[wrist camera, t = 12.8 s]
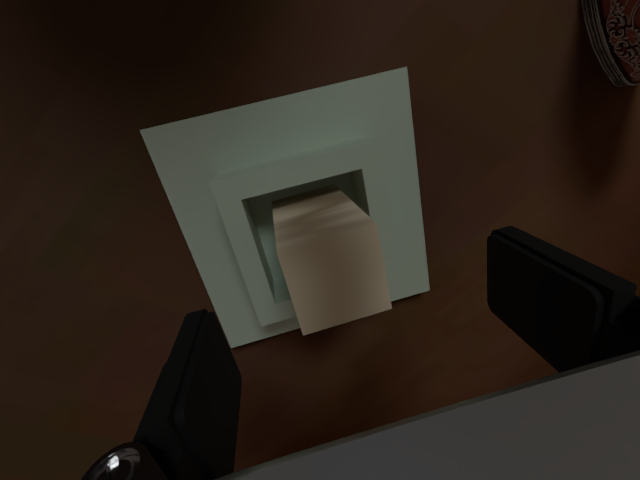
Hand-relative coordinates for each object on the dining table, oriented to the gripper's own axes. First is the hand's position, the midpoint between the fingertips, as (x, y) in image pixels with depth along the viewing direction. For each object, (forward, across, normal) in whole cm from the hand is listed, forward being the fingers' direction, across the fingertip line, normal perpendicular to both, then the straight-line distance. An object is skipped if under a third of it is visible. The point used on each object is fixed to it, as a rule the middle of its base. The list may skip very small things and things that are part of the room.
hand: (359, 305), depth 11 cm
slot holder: (+12, +1, +1) cm, 12 cm away
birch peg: (+10, 0, 0) cm, 10 cm away
